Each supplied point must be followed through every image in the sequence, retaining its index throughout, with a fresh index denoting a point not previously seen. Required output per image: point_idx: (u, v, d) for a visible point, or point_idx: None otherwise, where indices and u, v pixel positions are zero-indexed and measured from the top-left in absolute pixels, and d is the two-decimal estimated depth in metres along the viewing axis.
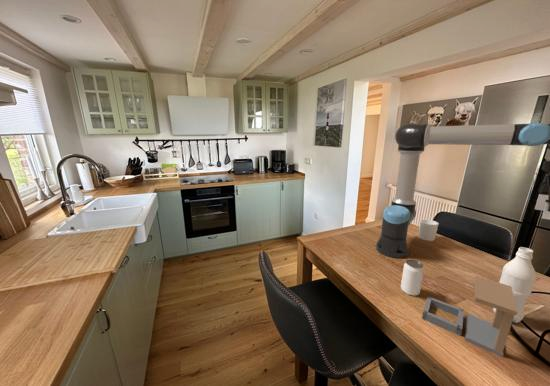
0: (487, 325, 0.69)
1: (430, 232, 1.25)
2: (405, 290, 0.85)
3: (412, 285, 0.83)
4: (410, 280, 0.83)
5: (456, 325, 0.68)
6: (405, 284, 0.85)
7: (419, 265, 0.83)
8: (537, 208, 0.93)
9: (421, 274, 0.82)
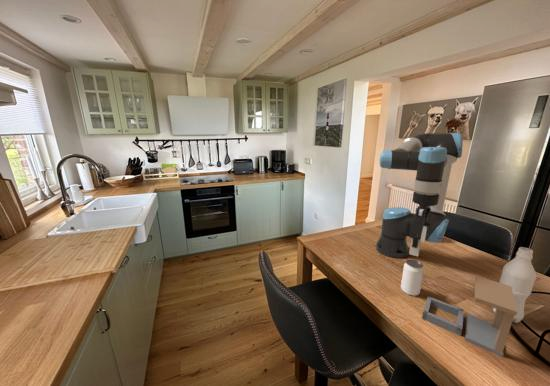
0: (487, 325, 0.69)
1: None
2: (405, 290, 0.85)
3: (412, 285, 0.83)
4: (410, 280, 0.83)
5: (456, 325, 0.68)
6: (405, 284, 0.85)
7: (419, 265, 0.83)
8: None
9: (421, 274, 0.82)
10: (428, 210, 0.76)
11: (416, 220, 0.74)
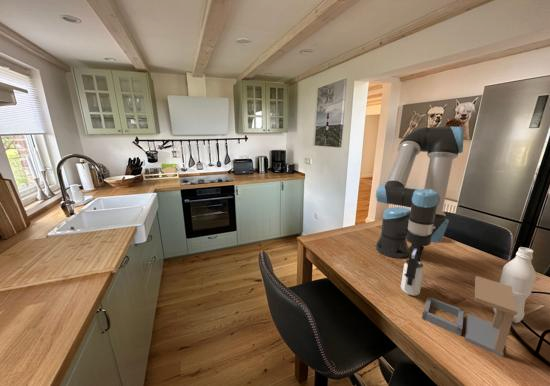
0: (487, 325, 0.69)
1: None
2: (405, 290, 0.85)
3: None
4: None
5: (456, 325, 0.68)
6: None
7: (419, 265, 0.83)
8: None
9: (421, 274, 0.82)
10: (421, 250, 0.80)
11: (409, 262, 0.79)
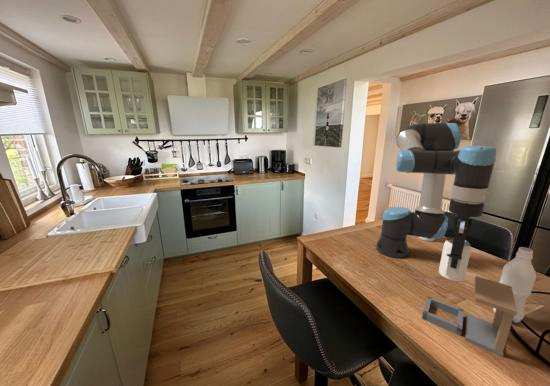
0: (487, 325, 0.69)
1: None
2: (446, 275, 0.68)
3: None
4: None
5: (456, 325, 0.68)
6: (446, 268, 0.68)
7: (465, 243, 0.66)
8: None
9: (468, 254, 0.65)
10: (470, 223, 0.63)
11: (456, 238, 0.62)
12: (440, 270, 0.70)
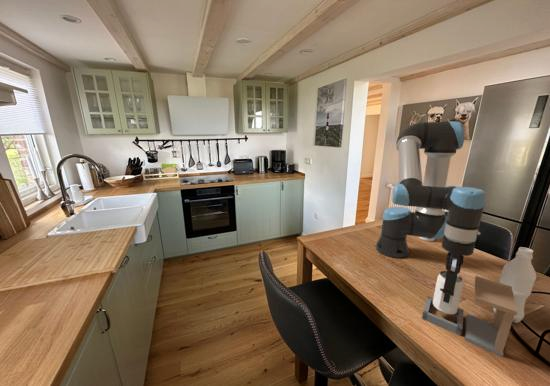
0: (487, 325, 0.69)
1: None
2: None
3: None
4: None
5: (456, 325, 0.68)
6: (439, 300, 0.71)
7: (457, 278, 0.69)
8: None
9: (460, 289, 0.68)
10: (461, 260, 0.66)
11: (448, 275, 0.65)
12: (434, 302, 0.73)
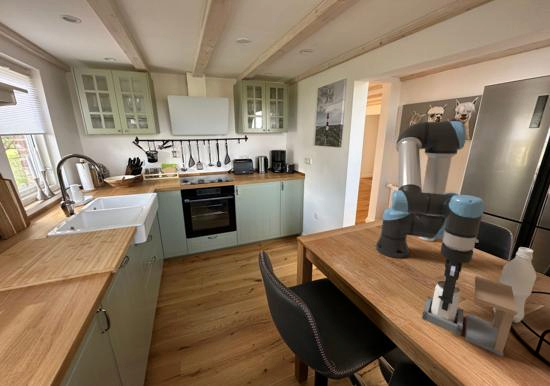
0: (487, 325, 0.69)
1: None
2: None
3: None
4: None
5: (456, 325, 0.68)
6: (437, 310, 0.72)
7: (455, 288, 0.70)
8: None
9: (458, 300, 0.69)
10: (460, 267, 0.67)
11: (447, 280, 0.64)
12: (432, 311, 0.74)
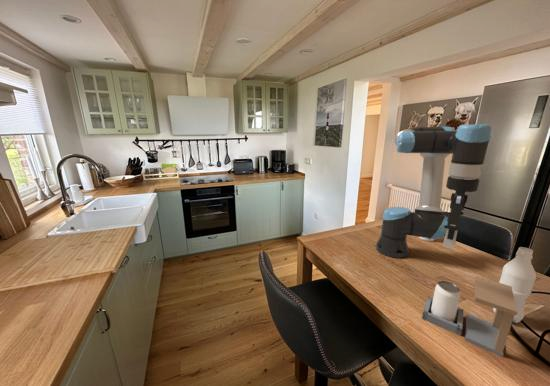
0: (487, 325, 0.69)
1: None
2: None
3: (446, 312, 0.70)
4: (444, 306, 0.70)
5: (456, 325, 0.68)
6: (437, 310, 0.72)
7: (455, 288, 0.70)
8: None
9: (458, 299, 0.69)
10: (466, 197, 0.67)
11: (453, 208, 0.65)
12: (432, 311, 0.74)
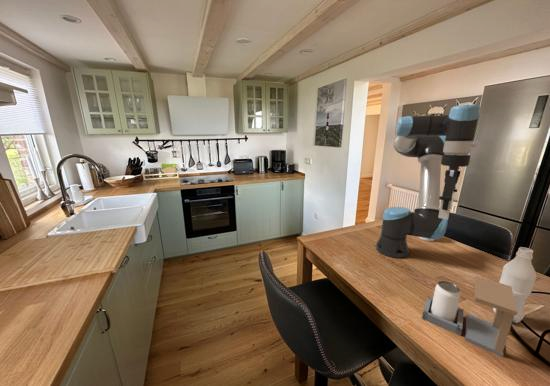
0: (487, 325, 0.69)
1: None
2: None
3: (446, 312, 0.70)
4: (444, 306, 0.70)
5: (456, 325, 0.68)
6: (437, 310, 0.72)
7: (455, 288, 0.70)
8: None
9: (458, 299, 0.69)
10: (458, 172, 0.74)
11: (447, 181, 0.72)
12: (432, 311, 0.74)
